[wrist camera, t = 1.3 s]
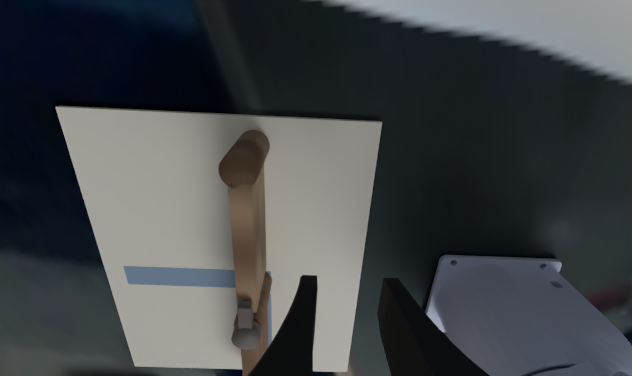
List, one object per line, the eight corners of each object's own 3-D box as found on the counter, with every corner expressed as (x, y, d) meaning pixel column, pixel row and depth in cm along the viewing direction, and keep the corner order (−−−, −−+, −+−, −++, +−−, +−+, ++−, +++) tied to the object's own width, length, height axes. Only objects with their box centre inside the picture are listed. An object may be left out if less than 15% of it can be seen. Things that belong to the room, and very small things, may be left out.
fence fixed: (272, 270, 24) (262, 318, 20) (273, 366, 29) (266, 421, 25) (246, 269, 24) (232, 317, 20) (252, 365, 29) (241, 420, 25)
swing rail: (272, 290, 25) (261, 350, 20) (247, 289, 25) (230, 349, 20) (269, 130, 19) (254, 160, 14) (237, 129, 19) (211, 157, 14)
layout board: (380, 121, 20) (382, 122, 19) (346, 368, 30) (346, 372, 29) (60, 105, 19) (54, 106, 19) (137, 362, 29) (134, 366, 29)
